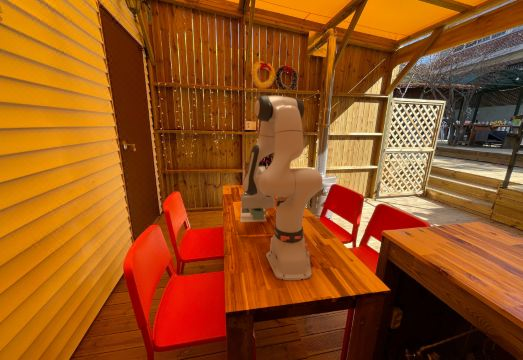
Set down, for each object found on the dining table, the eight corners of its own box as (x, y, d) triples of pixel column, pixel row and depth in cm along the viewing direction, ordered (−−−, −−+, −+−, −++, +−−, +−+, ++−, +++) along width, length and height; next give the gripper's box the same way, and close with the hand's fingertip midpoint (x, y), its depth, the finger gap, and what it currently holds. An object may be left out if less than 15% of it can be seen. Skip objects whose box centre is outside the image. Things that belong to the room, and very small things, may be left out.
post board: (266, 223, 123) (266, 211, 121) (240, 224, 122) (240, 212, 120) (263, 207, 146) (263, 197, 144) (241, 208, 145) (241, 197, 143)
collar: (263, 219, 125) (263, 211, 123) (252, 219, 124) (252, 211, 123) (263, 214, 131) (263, 207, 130) (252, 214, 131) (252, 207, 129)
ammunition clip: (276, 208, 145) (277, 191, 142) (276, 207, 147) (276, 190, 144) (292, 207, 147) (292, 190, 143) (291, 206, 148) (291, 190, 145)
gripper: (240, 194, 120) (240, 217, 124) (276, 194, 121) (275, 216, 125) (240, 191, 126) (240, 212, 130) (274, 190, 127) (274, 211, 131)
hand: (258, 214), depth 127 cm, fingers closed on collar, 6 cm apart
